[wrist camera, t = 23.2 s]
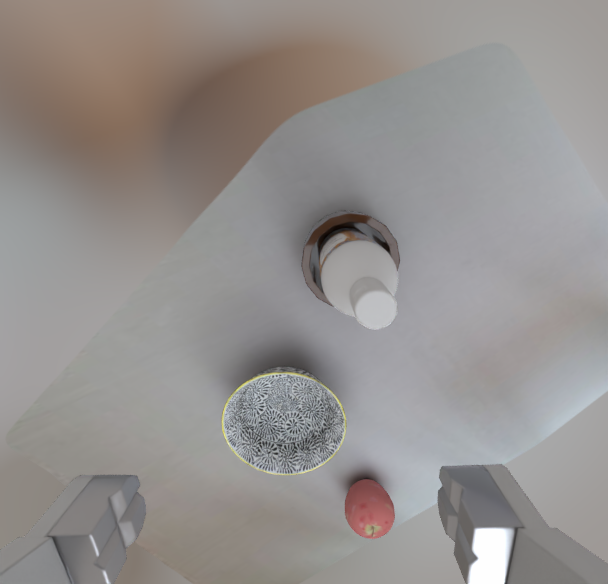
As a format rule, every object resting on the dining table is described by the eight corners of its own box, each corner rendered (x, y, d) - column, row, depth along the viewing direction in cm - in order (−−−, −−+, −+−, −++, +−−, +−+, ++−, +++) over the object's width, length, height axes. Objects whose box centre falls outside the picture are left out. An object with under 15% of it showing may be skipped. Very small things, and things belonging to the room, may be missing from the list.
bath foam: (345, 215, 39) (378, 236, 20) (384, 253, 40) (451, 308, 21) (307, 256, 40) (303, 312, 21) (345, 291, 42) (374, 374, 22)
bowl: (316, 328, 44) (317, 354, 37) (356, 416, 48) (364, 455, 41) (216, 367, 46) (199, 398, 39) (263, 447, 51) (255, 489, 43)
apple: (372, 508, 54) (382, 560, 46) (335, 492, 53) (338, 542, 45) (396, 479, 52) (410, 528, 44) (357, 462, 51) (365, 509, 43)
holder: (286, 245, 41) (282, 254, 35) (355, 192, 39) (363, 192, 33) (335, 308, 43) (339, 325, 37) (403, 261, 41) (417, 272, 35)
